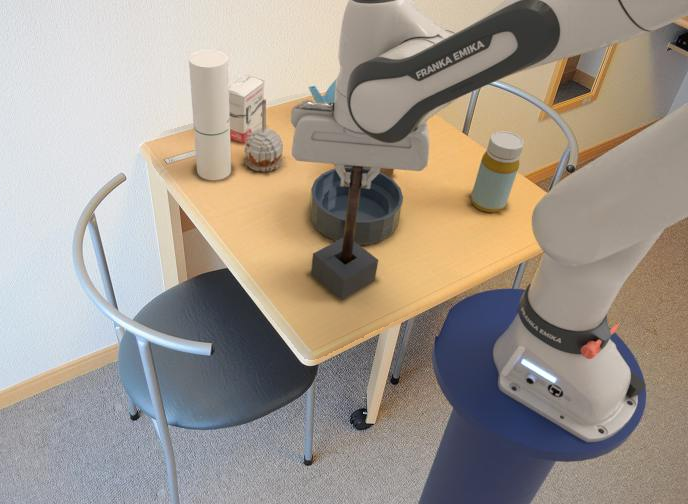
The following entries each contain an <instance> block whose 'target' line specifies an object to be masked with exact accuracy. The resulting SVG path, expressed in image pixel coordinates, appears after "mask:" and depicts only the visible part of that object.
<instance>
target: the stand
mask: <svg viewBox="0 0 688 504" xmlns="http://www.w3.org/2000/svg"><path fill="white" fill-rule="evenodd" d="M342 245H343V238H341V239H339V240H337V241H336V240H334V242H332V243H330V244H328V245H326V246H325V247H323V248H320V249H318V250H317V251H315V252H313V253H312V258H311V259H312V261H311V271H310V274H311V275H312V276H313V277H314V278H315V279H316V280H317V281H318V282H320V283H321V284H322V285H323V286H324V287H325V288H326V289H328V290H329V291H331V293H332V294H333V295H334V296H336V297H337V298H338V299H339V300H340V301H343V300H345V299H346V298H348V297H350V296H352V295H353V294H355V293H356V292H358V291H360V290H361V289H363V288H364V287H366V286H368V285H370V284H371V283H373V282H375V281H376V276H377V270H378V265H379V259H378V258H377V257H375V255H373V254H371V252H369V251H368V250H366V249H365V248H364V247H362V246H361V244H357V243H356V242H355V241H354V244H353V251H352V259H351V262H349V263H347V264H344V263H342V262H341V254H342Z"/></svg>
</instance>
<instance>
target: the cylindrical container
mask: <svg viewBox="0 0 688 504" xmlns="http://www.w3.org/2000/svg"><path fill="white" fill-rule="evenodd" d="M188 56H189V57H188V64H189V65H188V66H189V67H188V68H189V80H190V95H191V106H192V107H191V109H192V122H193V134H194V135H193V136H194V148H195V162H196V164H195V165H196V172H197V175H198V176H199V177H200V178H202V179H204V180H207V181H220V180H224V179H226V178H227V177H229V175H231V173H232V153H231V152H232V151H231V150H232V149H231V146H232V145H231V138H230V113H229V87H230V83H229V82H230V81H229V80H230V79H229V57H228V55H227V54H226V53H225V52H223V51H220V50H217V49H211V48H208V49H207V48H206V49H199V50H197V51H194V52H192V53H191V54H190V55H188Z"/></svg>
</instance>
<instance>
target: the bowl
mask: <svg viewBox="0 0 688 504" xmlns="http://www.w3.org/2000/svg"><path fill="white" fill-rule="evenodd" d="M344 169H345V171H346V172H351V167H344ZM370 170H371V169H369V168H364V167H363V173H364V174H367V173H368V172H369V171H370ZM340 185H341V178H340V177H339V175H338V173H337V172H336V170H335V168H331V169H329V170H327V171H325V172H323V173H321V174H320V175H319V176H318V177H317V178H316V179H314V181H313V184H312V186H311V189H310V199H309V200H310V201H309V218H310V221H311V223H312V225H313V227H315V229H316V230H318V231H319V232H320V233H321V234H322V235H323V236H325V237H327V238H329V239H332V240H334V241H337V240H339V239H341V238H343V236H344V228H345V219H346V210H347V202H348V193H349V187H341V186H340ZM403 199H404V195H403V191H402V189H401V187H400V186H399V185H398V183H397V182H396V181H395V180H394V179H393V178H392V177H388V176H387V175H385V174H384V173H381V172H380V173H379V174H378V175H377V176H376V177H375V178H374V179H373V180H372V181H371V186H370V189H365V188H361V190H360V198H359V205H358V213H357V221H356V228H355V236H354V241H355V242H356V243H357V244H359V245H370V244H374V243H379V242H382V241H383V240H385V239H386V238H387V239H388V238H389V237H391V236H392V234H394V232H395V231H396V230H397V228H398V225H399V222H400V221H399V220H400V216H401V211H402V206H403V202H404V201H403Z"/></svg>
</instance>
